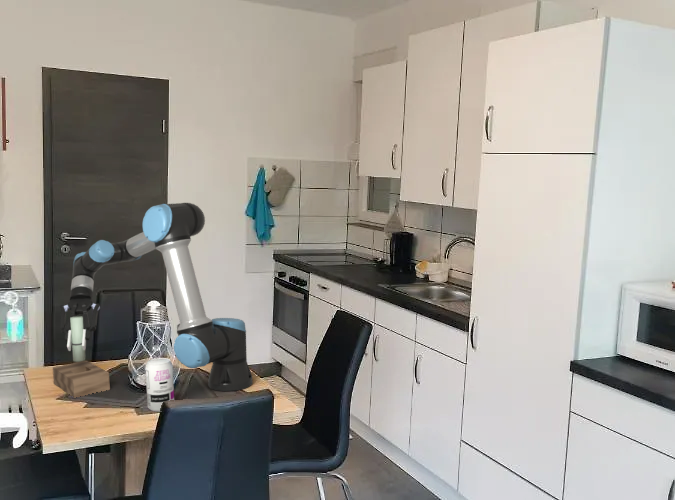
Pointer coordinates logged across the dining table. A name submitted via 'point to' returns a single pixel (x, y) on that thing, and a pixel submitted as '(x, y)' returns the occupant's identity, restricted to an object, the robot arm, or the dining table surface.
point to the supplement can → (159, 382)
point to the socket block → (81, 378)
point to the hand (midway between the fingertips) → (76, 348)
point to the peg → (77, 338)
